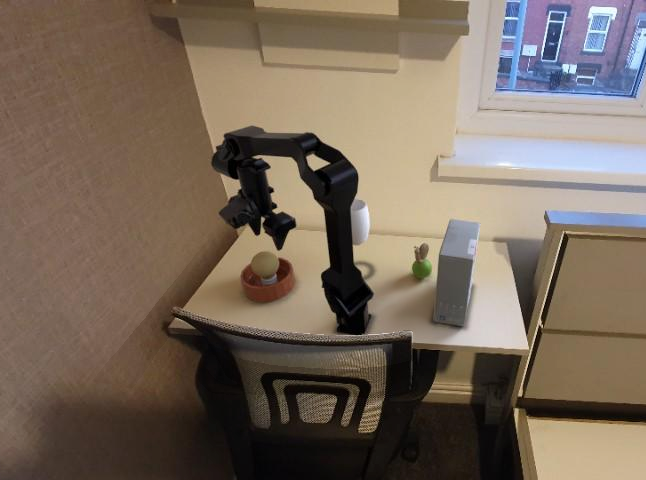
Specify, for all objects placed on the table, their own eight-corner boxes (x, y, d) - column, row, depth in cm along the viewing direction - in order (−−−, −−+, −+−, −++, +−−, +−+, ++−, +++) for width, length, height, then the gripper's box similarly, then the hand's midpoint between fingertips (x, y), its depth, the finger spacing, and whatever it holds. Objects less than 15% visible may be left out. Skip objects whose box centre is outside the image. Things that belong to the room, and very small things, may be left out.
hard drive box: (464, 328, 93) (473, 261, 81) (432, 322, 94) (436, 255, 82) (472, 285, 105) (480, 222, 94) (444, 280, 106) (449, 217, 95)
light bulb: (273, 296, 98) (265, 264, 92) (251, 290, 99) (242, 258, 94) (288, 280, 103) (282, 249, 97) (268, 274, 104) (260, 244, 99)
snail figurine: (406, 280, 106) (406, 243, 99) (417, 267, 110) (418, 231, 103) (423, 287, 104) (425, 250, 97) (435, 273, 108) (437, 237, 102)
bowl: (303, 275, 106) (300, 260, 103) (281, 306, 96) (278, 291, 93) (260, 268, 107) (256, 254, 104) (235, 299, 97) (230, 284, 94)
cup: (340, 275, 106) (333, 209, 94) (353, 260, 112) (347, 195, 100) (365, 281, 104) (360, 214, 93) (376, 265, 110) (373, 200, 98)
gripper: (197, 183, 87) (216, 241, 96) (243, 213, 77) (260, 274, 86) (244, 168, 94) (258, 223, 103) (292, 194, 85) (302, 252, 94)
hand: (268, 242), depth 96 cm, fingers open, 9 cm apart
